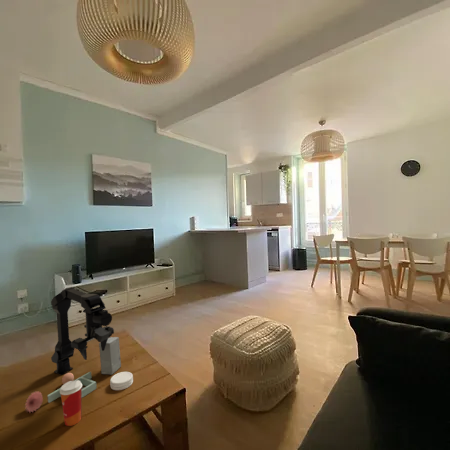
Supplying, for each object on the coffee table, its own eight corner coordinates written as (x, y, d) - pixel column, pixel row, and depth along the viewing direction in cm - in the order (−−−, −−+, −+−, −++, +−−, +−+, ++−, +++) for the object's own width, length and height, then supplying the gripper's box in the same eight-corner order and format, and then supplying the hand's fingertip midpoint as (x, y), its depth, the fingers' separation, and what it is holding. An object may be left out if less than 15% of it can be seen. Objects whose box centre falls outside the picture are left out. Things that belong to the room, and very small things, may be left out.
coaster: (137, 380, 131) (137, 373, 131) (121, 393, 122) (121, 385, 122) (122, 376, 136) (121, 369, 136) (105, 388, 127) (105, 380, 127)
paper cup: (67, 414, 110) (65, 380, 109) (87, 412, 110) (85, 378, 110) (57, 429, 102) (55, 392, 102) (78, 427, 103) (76, 390, 102)
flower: (41, 386, 120) (32, 386, 115) (52, 398, 117) (43, 398, 112) (27, 405, 117) (16, 405, 112) (37, 417, 114) (27, 418, 109)
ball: (59, 385, 130) (59, 375, 130) (70, 379, 134) (69, 369, 134) (66, 388, 128) (65, 377, 127) (76, 382, 132) (75, 372, 132)
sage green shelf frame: (47, 402, 118) (47, 395, 118) (90, 377, 136) (89, 371, 136) (63, 409, 113) (62, 402, 113) (105, 383, 130) (104, 376, 130)
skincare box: (112, 375, 137) (110, 343, 136) (99, 374, 138) (97, 343, 138) (122, 366, 145) (120, 336, 145) (109, 365, 146) (108, 335, 146)
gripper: (85, 332, 117) (87, 369, 117) (120, 317, 133) (122, 349, 134) (69, 328, 122) (71, 363, 123) (105, 314, 138) (107, 345, 139)
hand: (94, 354), depth 129 cm, fingers open, 9 cm apart
